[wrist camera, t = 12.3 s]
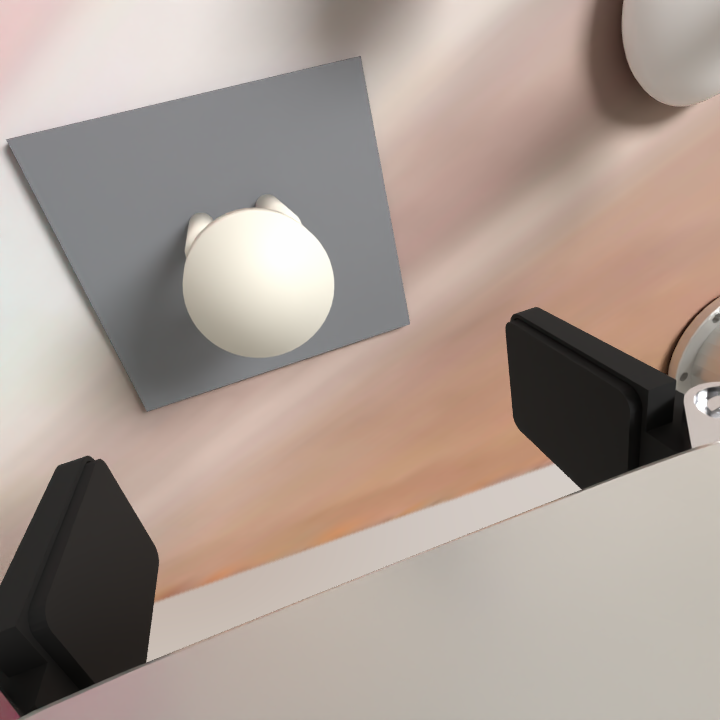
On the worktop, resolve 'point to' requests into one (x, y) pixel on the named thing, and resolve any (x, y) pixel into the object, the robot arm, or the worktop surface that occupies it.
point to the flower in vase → (674, 48)
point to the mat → (218, 214)
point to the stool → (256, 279)
